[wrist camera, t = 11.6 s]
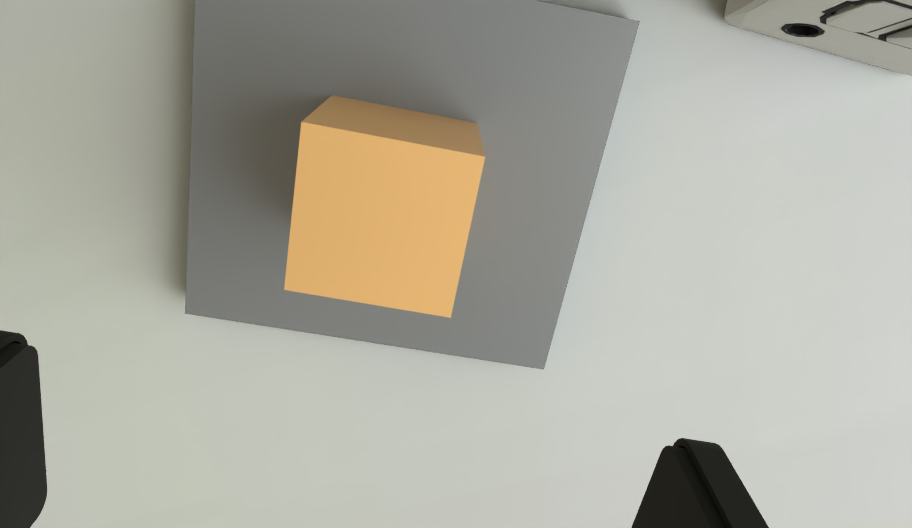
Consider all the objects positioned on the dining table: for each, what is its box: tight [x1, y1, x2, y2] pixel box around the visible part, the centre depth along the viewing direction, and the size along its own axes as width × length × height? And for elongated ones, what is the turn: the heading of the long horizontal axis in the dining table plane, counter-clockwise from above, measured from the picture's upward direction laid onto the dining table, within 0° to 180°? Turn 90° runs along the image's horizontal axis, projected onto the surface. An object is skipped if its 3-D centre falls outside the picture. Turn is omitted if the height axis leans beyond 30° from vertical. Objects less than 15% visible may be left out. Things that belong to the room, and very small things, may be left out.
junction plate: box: [185, 0, 640, 369], centre depth 26 cm, size 16×17×6 cm
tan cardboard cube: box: [284, 95, 485, 318], centre depth 25 cm, size 6×6×6 cm
